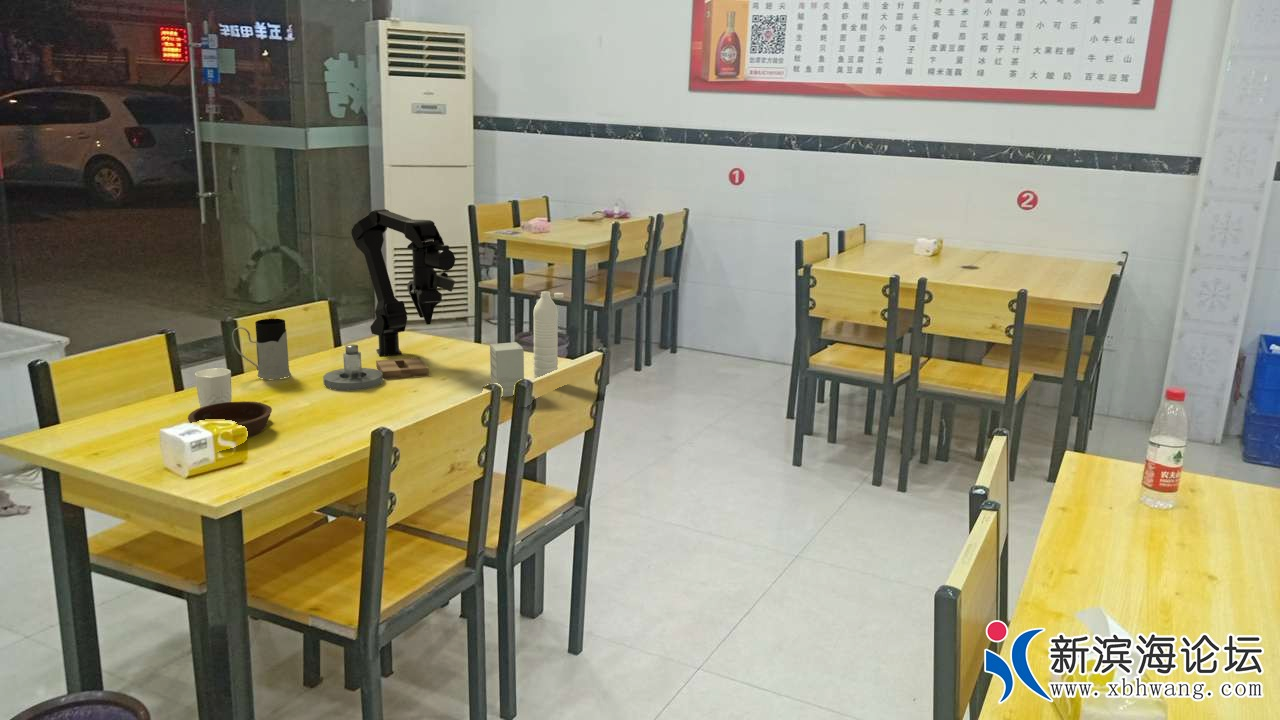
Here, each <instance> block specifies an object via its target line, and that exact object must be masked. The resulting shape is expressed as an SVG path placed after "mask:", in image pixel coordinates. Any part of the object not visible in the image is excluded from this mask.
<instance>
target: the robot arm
mask: <svg viewBox="0 0 1280 720" xmlns="http://www.w3.org/2000/svg"><path fill="white" fill-rule="evenodd" d="M388 229H391V230H393V231H395V232H398V233H401V234H403V235H404V237H405V239H407V240H409V241H410V243H409V244H408V245H407V247H406V248H407V249H409V250H412V251H411V252H412V268H411V273H412V278H413V279H412V280H409V282H407V283H406V286H407V288H406V289H407V292H408V294H409V296H410V299H411V301H412V303H413V305H414V307H415V310H416V312H417V314H418V317H419V318H421V319H422V318H423V319H424V322H425V324H426V325H431V324H432V323H431V322H432V319H433V315H434V310H435V307H436V306H438V304H440V303H441V302H442V301H443V298H442V297H443V295H442V293H441V291H439V290H438V288H440V289H443V290H447V291H448V292H449V293H450V292H453V289H454V286H455V283H456V280H454V279H453V278H451V277H449V274H448V273H447V272H446V271H451V269H452V268H454V266H455V262H456V257H455V255H454V252H452V250H450V245H448V244H445V242H444V241H443V237H442V236H441V234H440V233H439V230H438V228H437V226H436V225H435V221H432V220H430V219H412V218H409V217H407V216H404V215H401V214H397V213H395V212H392V211H390V210H389V209H385V208H382V209H374V210H371V212H369V214H368V215H366V216H365V217H363V218H361V219H360V220H358V221H357V223H355V224H354V225H353V227H352V228H351V232H350V233H351V236H352V239H353V241H354V244H355V246H356V248H357V249H358V250H359V251H361V252H362V253H363V255H364V258H365V262H366V266H367V268H368V271H369V276H370V280H371V282H372V286H373V289H374V294H375V298H376V301H377V304H376V308H375V311H374V312H375V319H374V321H373V323H372V324H371V325H370V326H369V327H370V332H371V334H372V335H375V336H378V348H377V349H376V353H377V354H378V356H379V357H383V356H395V355H403V351H401V349H400V346H399V345H400V344H399V343H400V342H399V340H400V339H399V333H401V332H402V333H403V332H405V330H406V327H407V322H408V316H407V315H408V312H407V310H406V307H405V303H404V301H403V300H401V301H400V300H398V299H397V298H396V297H395V293H394V290H393V287H392V283H391V281H390V280H391V279H390V277H389V273H388V272H389V271H388V269H387V266H386V263H385V258H384V256H383V251H382V248H383V244H384V241H385V239H384V233H386V231H387V230H388ZM435 269H436V270H440V271H441V272H440V273H439V274H438V273H437V271H436V270H435ZM444 271H445V272H444Z"/></svg>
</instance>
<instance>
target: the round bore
mask: <svg viewBox="0 0 1280 720" xmlns="http://www.w3.org/2000/svg"><path fill="white" fill-rule="evenodd" d="M322 382H323V385H325V386H326V388H327V387H328V389H330V388H331V389H330V390H334V389H336V390H335V391H347V390H353V391H362V390H363V389H364V390H367V389H373V388H375V387H378V386H380V385H381V384H382V383H384V379H383V374H382V372H381V371H379V370H378V369H377V368H369V367H362V378H356V379H345V378H344V368H339V369H335V370H334V369H333V370H332V371H331V370H330V371H328V372H326V373H325V374H324V375H323V376H322ZM325 386H324V387H325Z"/></svg>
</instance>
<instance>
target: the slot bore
mask: <svg viewBox="0 0 1280 720" xmlns="http://www.w3.org/2000/svg"><path fill="white" fill-rule="evenodd" d="M375 363H376V365H375V366H376V367H377V368H376V370H379V371H381V372H382V374H383V380H385V379H386V380H387V379H398V378H408V377H411V378H412V377H421V376H429V370H428V369H429V368H428V367H427V365H426V364H425V363H424V361H423V360H422V359H421V357H417V356H416V357H407V358H406V357H405V358H395V359H394V358H393V359H392V358H391V359H381V360H376V362H375Z"/></svg>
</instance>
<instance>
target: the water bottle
mask: <svg viewBox="0 0 1280 720" xmlns="http://www.w3.org/2000/svg"><path fill="white" fill-rule="evenodd" d="M540 293H541V294H540V298H539V299H538V301H537V302H536V304H535V306H534V308H533V316H532V317H533V379H534V378H537V377H540V376H543V375H545V374H547V373H550V372H552V371H554V370H557V369H559V367H558V364H559V363H558V362H559V360H558V356H559V354H558V352H559V347H558V343H559V338H558V337H559V334H558V333H559V332H558V331H559V329H558V326H559V325H558V323H559V322H558V321H559V320H558V319H559V318H558V317H559V309H558V307H557V305H556V304H555V302H554V300H553V299H552V298H551V292H550V291H549V290H548V291H547V290H544V291H541V292H540ZM553 295H554V296H553V297H554V298H557V299H558V298H559V299H560V298H561V299H563V298H564V297H565V296H564V292H554V293H553Z"/></svg>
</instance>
